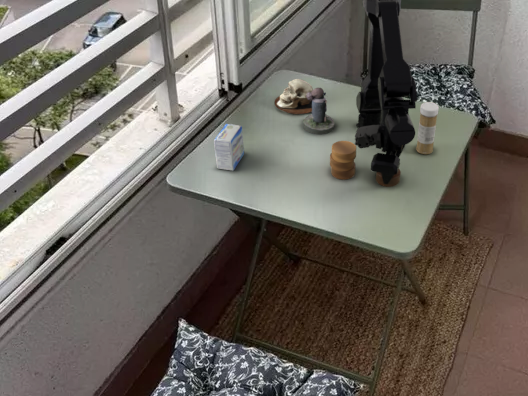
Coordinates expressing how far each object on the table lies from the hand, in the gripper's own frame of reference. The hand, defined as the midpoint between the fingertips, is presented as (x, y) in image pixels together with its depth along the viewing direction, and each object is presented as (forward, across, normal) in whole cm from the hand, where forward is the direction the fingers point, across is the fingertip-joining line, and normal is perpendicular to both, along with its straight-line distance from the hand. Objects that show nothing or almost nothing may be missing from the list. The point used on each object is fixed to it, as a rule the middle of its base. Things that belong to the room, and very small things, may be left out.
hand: (388, 176), depth 168 cm
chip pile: (+1, 0, -11) cm, 11 cm away
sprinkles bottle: (+1, -16, +7) cm, 17 cm away
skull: (+1, -29, -32) cm, 43 cm away
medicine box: (+1, +3, -40) cm, 40 cm away
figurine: (+1, -20, -23) cm, 30 cm away
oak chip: (-4, 0, -11) cm, 12 cm away
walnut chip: (+1, 0, 0) cm, 1 cm away
